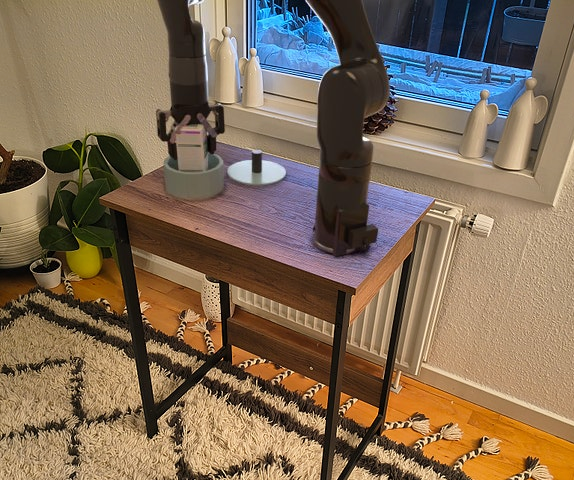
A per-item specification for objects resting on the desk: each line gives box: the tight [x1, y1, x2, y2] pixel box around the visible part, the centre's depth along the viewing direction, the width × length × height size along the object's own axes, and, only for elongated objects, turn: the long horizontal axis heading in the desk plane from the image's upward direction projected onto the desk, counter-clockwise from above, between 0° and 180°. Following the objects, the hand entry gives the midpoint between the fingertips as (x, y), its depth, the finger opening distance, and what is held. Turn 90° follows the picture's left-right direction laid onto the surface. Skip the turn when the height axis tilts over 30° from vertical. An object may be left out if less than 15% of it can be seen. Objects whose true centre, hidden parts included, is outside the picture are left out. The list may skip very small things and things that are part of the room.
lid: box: [227, 149, 287, 187], centre depth 134 cm, size 14×14×6 cm
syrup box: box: [175, 124, 209, 172], centre depth 124 cm, size 6×6×14 cm
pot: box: [163, 152, 225, 200], centre depth 127 cm, size 13×13×6 cm
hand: (193, 155), depth 124 cm, fingers closed on syrup box, 7 cm apart
